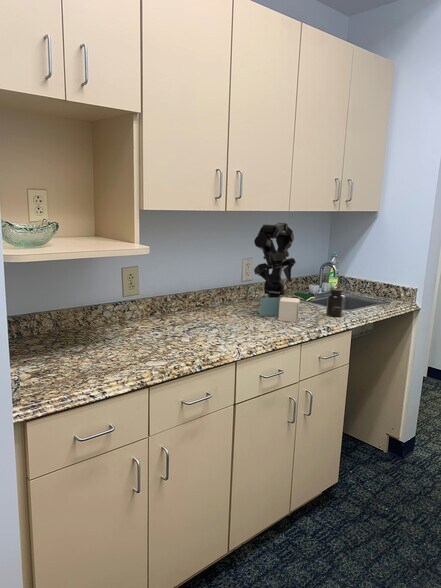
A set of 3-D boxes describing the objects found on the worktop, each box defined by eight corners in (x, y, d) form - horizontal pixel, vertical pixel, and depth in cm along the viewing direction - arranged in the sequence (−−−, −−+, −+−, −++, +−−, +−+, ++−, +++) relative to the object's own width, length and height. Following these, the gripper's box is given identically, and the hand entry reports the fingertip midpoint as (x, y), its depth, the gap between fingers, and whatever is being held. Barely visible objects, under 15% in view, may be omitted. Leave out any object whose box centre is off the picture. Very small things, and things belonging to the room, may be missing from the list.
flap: (278, 314, 203) (279, 297, 202) (280, 315, 202) (281, 297, 200) (259, 315, 200) (260, 297, 199) (260, 316, 199) (261, 298, 197)
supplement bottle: (335, 317, 203) (337, 291, 201) (323, 314, 208) (325, 289, 206) (344, 316, 207) (347, 290, 205) (332, 313, 212) (334, 287, 210)
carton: (280, 316, 202) (281, 297, 200) (298, 317, 200) (299, 298, 198) (278, 320, 193) (279, 300, 192) (297, 322, 191) (298, 302, 190)
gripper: (258, 247, 192) (270, 281, 188) (295, 240, 199) (307, 273, 196) (248, 257, 202) (260, 290, 198) (284, 251, 209) (295, 282, 206)
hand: (281, 283), depth 199 cm, fingers open, 9 cm apart
